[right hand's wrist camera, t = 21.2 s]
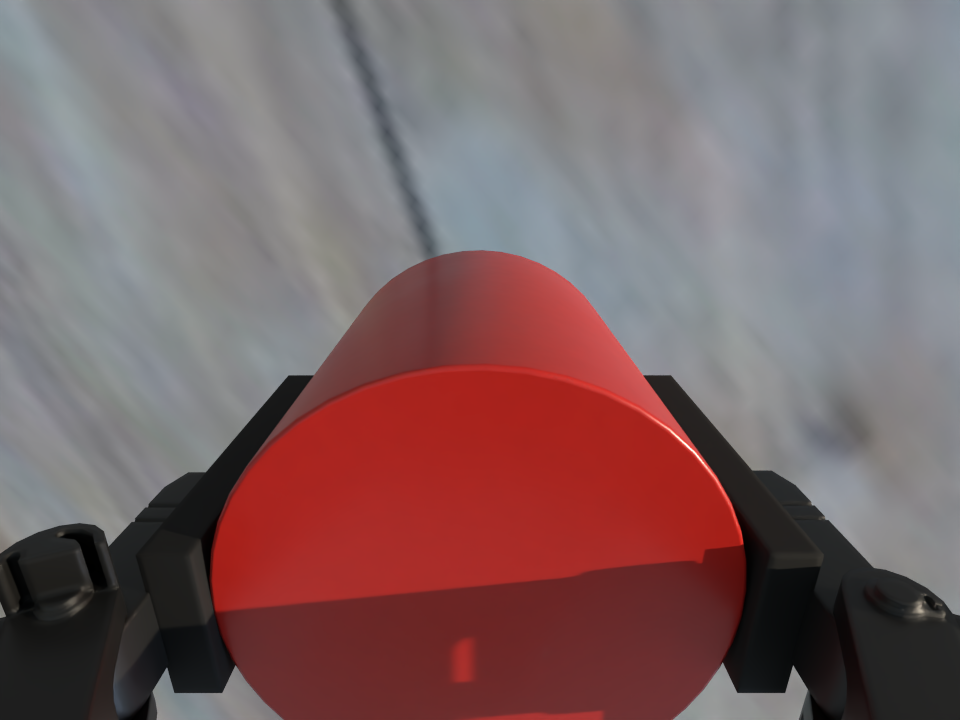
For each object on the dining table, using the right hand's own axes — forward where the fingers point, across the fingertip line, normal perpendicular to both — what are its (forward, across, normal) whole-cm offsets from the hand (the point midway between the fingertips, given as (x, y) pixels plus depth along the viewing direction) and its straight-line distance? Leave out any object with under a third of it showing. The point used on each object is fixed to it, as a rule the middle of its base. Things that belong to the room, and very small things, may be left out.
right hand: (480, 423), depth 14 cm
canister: (+2, 0, 0) cm, 2 cm away
